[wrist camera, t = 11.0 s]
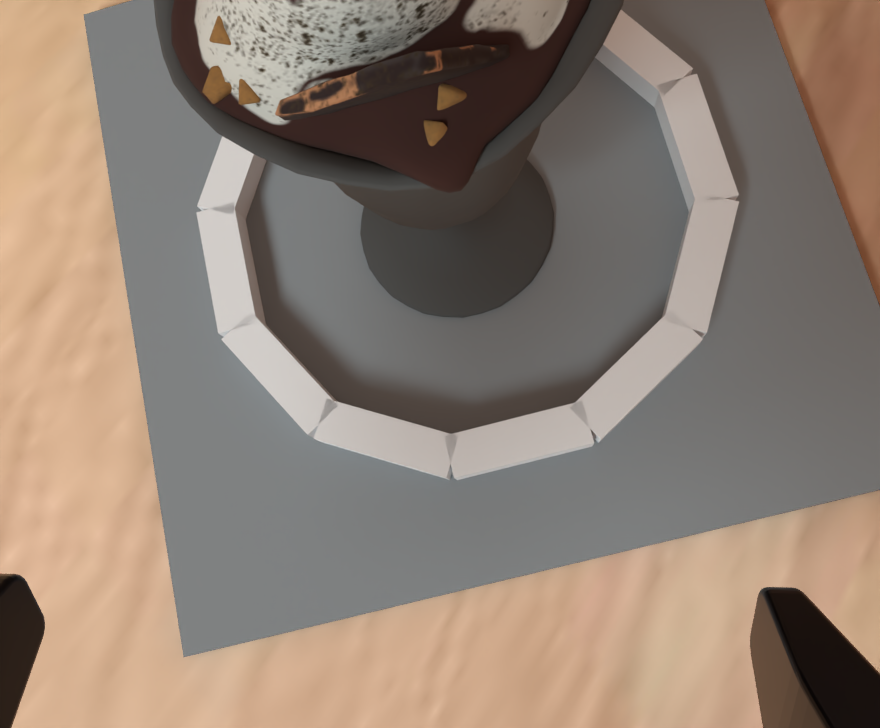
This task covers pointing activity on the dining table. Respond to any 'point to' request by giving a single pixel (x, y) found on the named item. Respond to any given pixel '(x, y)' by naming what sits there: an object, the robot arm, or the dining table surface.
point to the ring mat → (491, 339)
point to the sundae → (401, 120)
